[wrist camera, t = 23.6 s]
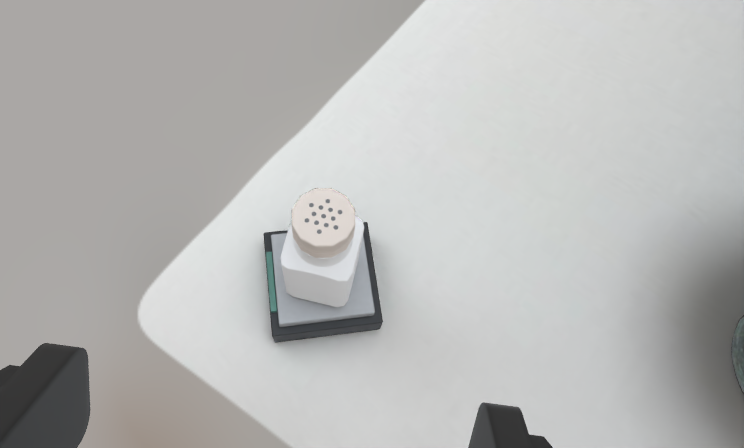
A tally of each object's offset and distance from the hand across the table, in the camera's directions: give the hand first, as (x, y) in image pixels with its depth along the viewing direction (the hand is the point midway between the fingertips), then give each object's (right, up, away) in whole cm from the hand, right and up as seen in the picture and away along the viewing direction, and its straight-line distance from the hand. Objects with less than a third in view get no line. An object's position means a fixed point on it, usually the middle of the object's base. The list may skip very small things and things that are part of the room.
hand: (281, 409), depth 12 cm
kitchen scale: (-2, 0, +28) cm, 28 cm away
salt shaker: (-1, 0, +26) cm, 26 cm away
